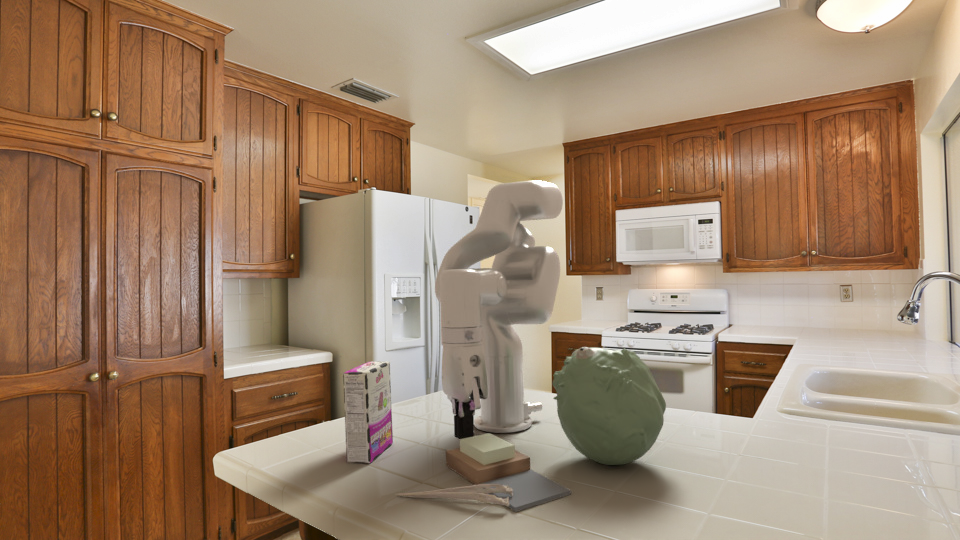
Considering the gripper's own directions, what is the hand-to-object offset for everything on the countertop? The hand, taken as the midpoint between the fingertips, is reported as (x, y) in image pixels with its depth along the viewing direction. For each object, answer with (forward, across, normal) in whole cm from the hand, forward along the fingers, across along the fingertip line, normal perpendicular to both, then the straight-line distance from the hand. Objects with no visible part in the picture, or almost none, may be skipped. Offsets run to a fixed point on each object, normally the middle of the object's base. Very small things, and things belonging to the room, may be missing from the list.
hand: (464, 436), depth 91 cm
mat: (+4, -18, 0) cm, 19 cm away
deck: (+4, -8, 0) cm, 8 cm away
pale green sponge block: (0, -8, 0) cm, 8 cm away
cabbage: (+4, -17, -19) cm, 26 cm away
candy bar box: (+4, +12, +14) cm, 19 cm away
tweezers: (+4, -15, +10) cm, 19 cm away
